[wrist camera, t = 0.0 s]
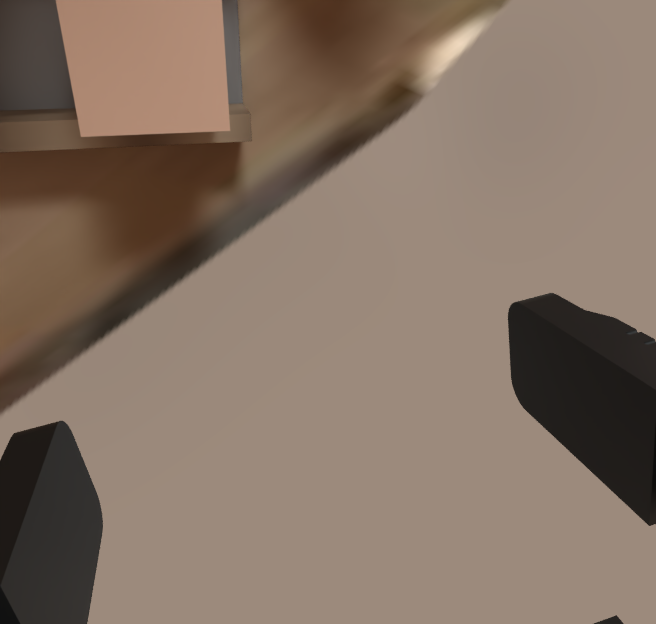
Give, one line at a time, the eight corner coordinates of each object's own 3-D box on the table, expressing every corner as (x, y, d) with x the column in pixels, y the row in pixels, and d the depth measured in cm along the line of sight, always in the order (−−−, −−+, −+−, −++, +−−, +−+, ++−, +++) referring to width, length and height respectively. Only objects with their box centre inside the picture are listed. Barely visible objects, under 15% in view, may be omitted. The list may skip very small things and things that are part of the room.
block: (199, -56, 25) (217, -70, 18) (211, 94, 28) (229, 130, 21) (72, -60, 24) (41, -76, 17) (98, 97, 27) (81, 137, 20)
